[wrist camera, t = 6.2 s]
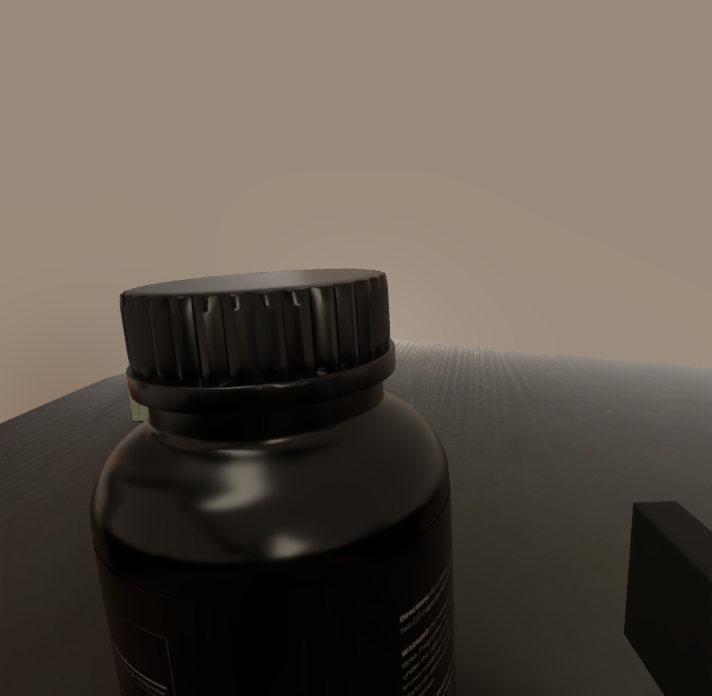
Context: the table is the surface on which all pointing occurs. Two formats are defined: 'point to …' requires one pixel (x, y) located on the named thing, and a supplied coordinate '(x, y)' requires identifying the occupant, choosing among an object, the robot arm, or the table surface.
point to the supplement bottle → (273, 497)
